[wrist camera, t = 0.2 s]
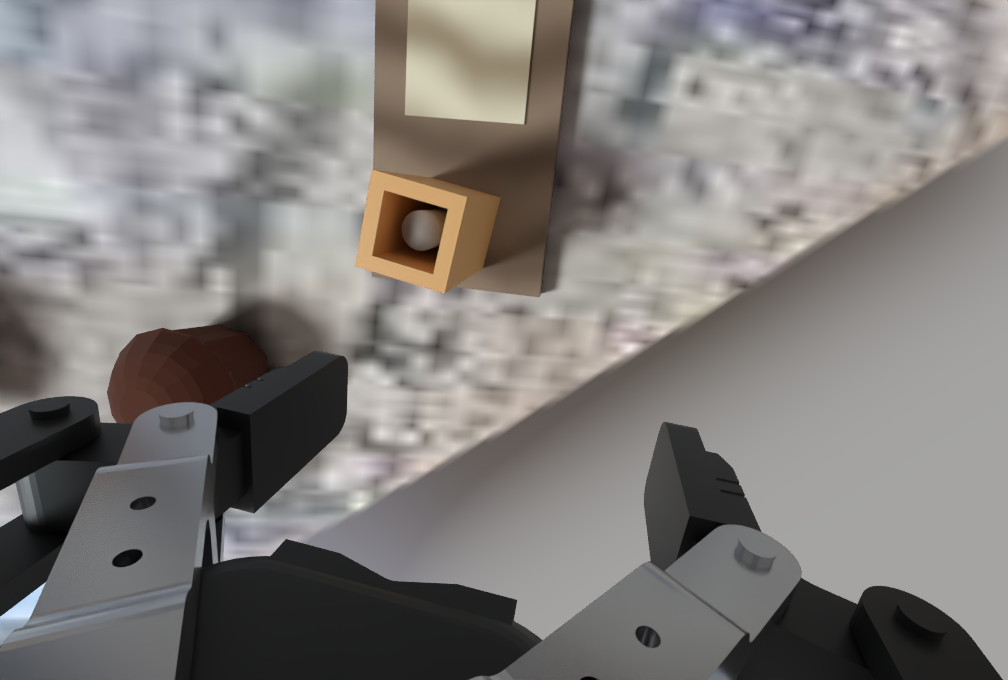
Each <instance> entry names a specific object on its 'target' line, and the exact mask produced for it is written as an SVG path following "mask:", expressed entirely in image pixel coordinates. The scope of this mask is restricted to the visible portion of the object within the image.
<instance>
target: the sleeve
mask: <svg viewBox="0 0 1008 680" xmlns="http://www.w3.org/2000/svg"><path fill="white" fill-rule="evenodd" d="M500 199H501V197H497V196H494V195H490V194H487V193H483V192H480V191H476V190H473V189H469V188H466V187H462V186H459V185H456V184H452V183H449V182H445V181H442V180H438V179H435V178H431V177H423V176H416V175H409V174H401V173H394V172H387V171H379V170H372V172H371V178H370V184H369V189H368V195H367V201H366V207H365V212H364V218H363V224H362V230H361V235H360V241H359V247H358V253H357V258H356V264H355V266H356V267H359V268H363V269H366V270H369V271H372V272H376V273H379V274H382V275H385V276H389V277H392V278H395V279H398V280H402V281H405V282H408V283H411V284H415V285H418V286H421V287H424V288H428V289H431V290H434V291H438V292H441V293H446V292H447V291H449V290H451V289H452V288H454V287H455V286H457V285H458V284H460V283H461V282H463V281H464V280H466V279H467V278H469V277H470V276H472V275H473V274H475V273H476V272H478V271H479V270H481V269H482V268H483V265H484V261H485V258H486V254H487V250H488V246H489V242H490V238H491V234H492V230H493V226H494V223H495V219H496V215H497V211H498V207H499V203H500ZM437 206H440V207H443V208H447V209H448V211H447V215H446V220H445V224H444V228H443V233H442V237H441V242H440V246H438V247H435V248H431V249H428V250H424V251H419V250H415V249H413V248H411V247H410V246H409V245H408V244H407V243H406V242H405V240H404V238H403V236H402V223H403V221H404V219H405V217H406V216H407V215H408V214H409V213H411V212H413V211H418V210H432V209H437Z"/></svg>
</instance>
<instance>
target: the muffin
mask: <svg viewBox="0 0 1008 680" xmlns="http://www.w3.org/2000/svg"><path fill="white" fill-rule="evenodd" d="M266 373H268V367H267V357H266V355H265V354H264V353H263V352H262V351H261V350H260V349H259V348H258V347H257V346H256V345H255V344H254V342H253V341H252V340H251V339H250V337H249V336H248V335H247V333H245V332H240V331H235V330H232V329H229V328H227V327H224V326H222V325H212V326H204V327H196V328H187V329H179V330H169V329H165V328H161V329H157V330H153V331H149V332H145V333H141V334H137V335H136V336H135V337H134V338H133V339H132V340H131V341H130V342H129V344H128V345H127V346H126V347H125V348H124V349H123V350H122V351H121V352H120V354H119V357H118V359H117V361H116V363H115V365H114V368H113V371H112V374H111V378H110V383H109V387H108V391H107V394H108V399H109V403H110V408H111V413H112V416H113V418H114V419H115V421H116V422H117V423H123V424H133V423H134V421H135V419H136V418H137V417H138V416H140V415H141V414H142V413H144V412H146V411H148V410H150V409H153V408H156V407H159V406H163V405H167V404H173V403H181V402H195V403H202V404H207V405H210V404H212V403H214V402H216V401H218V400H219V399H221V398H223V397H225V396H227V395H228V394H230V393H232V392H234V391H236V390H237V389H239V388H241V387H245V385H246V384H248V383H250V382H252V381H253V380H257V378H259V377H261V376H262V375H264V374H266Z"/></svg>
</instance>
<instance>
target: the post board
mask: <svg viewBox="0 0 1008 680" xmlns="http://www.w3.org/2000/svg"><path fill="white" fill-rule="evenodd" d="M574 2H575V0H376V14H375V88H374V162H373V170H379V171H387V172H394V173H401V174H409V175H416V176H423V177H431V178H435V179H438V180H442V181H445V182H449V183H452V184H456V185H459V186H462V187H466V188H469V189H473V190H476V191H480V192H483V193H487V194H490V195H494V196H497V197H501V199H500V203H499V207H498V211H497V215H496V219H495V223H494V226H493V230H492V234H491V238H490V242H489V246H488V250H487V254H486V258H485V261H484V265H483V268H482V269H481V270H479V271H478V272H476V273H475V274H473V275H472V276H470V277H469V278H467V279H466V280H464V281H463V282H461V283H460V284H458V285H457V286H455V287H461V288H469V289H477V290H485V291H493V292H501V293H509V294H517V295H526V296H534V297H540V295H541V289H542V280H543V272H544V263H545V254H546V246H547V237H548V228H549V220H550V211H551V202H552V193H553V185H554V176H555V167H556V159H557V150H558V141H559V133H560V124H561V115H562V107H563V98H564V89H565V81H566V72H567V63H568V55H569V46H570V37H571V28H572V20H573V11H574ZM447 211H448V209H447V208H443V207H440V206H437V209H432V210H418V211H413V212H411V213H409V214H408V215H407V216H406V217H405V219H404V221H403V223H402V236H403V238H404V240H405V242H406V243H407V244H408V245H409V246H410V247H411V248H413V249H415V250H419V251H424V250H428V249H431V248H435V247H438V246H440V242H441V237H442V233H443V228H444V224H445V220H446V215H447ZM372 277H379V278H387V279H395V278H392V277H389V276H385V275H382V274H379V273H376V272H372ZM396 280H398V279H396Z"/></svg>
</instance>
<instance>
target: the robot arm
mask: <svg viewBox="0 0 1008 680" xmlns="http://www.w3.org/2000/svg"><path fill="white" fill-rule="evenodd" d="M347 385H348V363H347V360H346V358H345V357H344V356H339V355H334V354H329V353H324V352H319V351H314V352H312V353H310V354H309V355H307V356H305V357H303V358H302V359H300V360H298V361H296V362H295V363H293V364H291V365H289V366H285V367H282V368H278V369H274V370H271V371H270V372H268V373H266V374H264V375H262V376H261V377H259V378H257V380H253V381H252V382H250V383H248V384H246V385H245V387H241V388H239V389H237V390H236V391H234V392H232V393H230V394H228V395H227V396H225V397H223V398H221V399H219V400H218V401H216V402H214V403H212V404H210V405H207V404H202V403H195V402H181V403H173V404H167V405H163V406H159V407H156V408H153V409H150V410H148V411H146V412H144V413H142V414H141V415H140V416H138V417H137V418H136V419H135V421H134V423H133V424H123V423H100V417H99V411H98V405H97V403H96V402H95V401H94V400H91V399H89V398H85V397H75V396H65V397H54V398H47V399H41V400H37V401H33V402H29V403H26V404H23V405H20V406H18V407H15V408H13V409H10V410H8V411H5V412H3V413H0V490H2V489H4V488H6V487H8V486H10V485H12V484H13V483H16V487H17V491H18V496H19V500H20V504H21V509H22V513H23V514H22V515H20V516H18V517H17V518H15V519H13V520H12V521H10V522H8V523H7V524H5V525H3V526H2V527H0V616H2V615H3V614H4V613H6V612H7V611H8V610H9V609H11V608H12V607H13V606H15V605H16V604H17V603H19V602H20V601H21V600H23V599H24V598H25V597H27V596H28V595H29V594H30V593H32V592H33V591H34V590H36V589H37V588H38V587H40V586H41V585H42V584H44V583H45V582H46V581H47V582H46V584H45V586H44V588H43V590H42V593H41V595H40V597H39V599H38V602H37V604H36V606H35V608H34V611H33V613H32V615H31V617H30V619H29V621H28V622H27V624H26V625H25V626H24V627H22V628H19V629H16V630H14V631H13V632H11V633H10V634H9V636H8V637H7V638H6V639H5V641H4V642H3V644H2V645H1V646H0V680H1003V679H1002V678H1001V677H1000V675H999V674H998V673H997V671H996V670H995V669H994V667H993V666H992V665H991V663H990V662H989V661H988V659H987V658H986V657H985V655H984V654H983V652H982V651H981V650H980V648H979V647H978V646H977V644H976V643H975V642H974V640H973V639H972V638H971V637H970V636H969V634H968V633H967V632H966V631H965V630H964V629H963V628H962V627H961V626H960V625H959V624H958V623H957V622H955V621H954V620H953V619H952V618H951V617H949V616H948V615H946V614H945V613H944V612H942V611H941V610H939V609H938V608H936V607H935V606H933V605H931V604H930V603H928V602H926V601H924V600H923V599H920V598H918V597H916V596H914V595H912V594H910V593H907V592H905V591H902V590H899V589H895V588H890V587H886V586H873V587H869V588H867V589H866V590H865V591H864V592H863V594H862V596H861V598H860V600H859V602H858V604H856V603H853V602H851V601H849V600H847V599H844V598H842V597H840V596H837V595H835V594H832V593H830V592H828V591H826V590H824V589H821V588H819V587H817V586H815V585H813V584H811V583H809V582H807V581H806V580H804V579H802V578H801V574H802V571H801V567H800V565H799V563H798V561H797V559H796V558H795V557H794V555H793V554H792V553H791V552H790V551H789V550H788V549H787V548H786V547H785V546H783V545H782V544H781V543H779V542H778V541H776V540H775V539H773V538H772V537H770V536H768V535H766V534H764V533H762V532H761V530H760V528H759V526H758V523H757V521H756V519H755V516H754V514H753V512H752V510H751V508H750V505H749V503H748V501H747V499H746V498H744V495H745V494H744V492H743V490H742V488H741V486H740V485H739V481H738V479H737V476H736V475H735V472H734V470H733V468H732V467H731V466H730V465H729V464H728V463H727V462H726V461H725V460H724V459H723V458H722V457H721V456H719V455H718V454H716V453H712V452H707V451H705V448H704V446H703V443H702V440H701V437H700V435H699V432H698V430H697V429H696V428H692V427H688V426H683V425H677V424H673V423H668V422H663V424H662V425H661V428H660V431H659V434H658V438H657V442H656V446H655V449H654V453H653V457H652V461H651V465H650V469H649V473H648V476H647V480H646V486H645V493H644V508H645V516H646V525H647V533H648V541H649V550H650V558H651V561H649V562H646V563H644V564H642V565H641V566H639V567H638V568H636V569H635V570H634V571H633V572H631V573H630V574H629V575H627V576H626V577H625V578H623V579H622V580H621V581H619V582H618V583H617V584H616V585H614V586H613V587H612V588H610V589H609V590H608V591H607V592H605V593H604V594H603V595H601V596H600V597H599V598H597V599H596V600H595V601H593V602H592V603H591V604H589V605H588V606H587V607H586V608H584V609H583V610H582V611H580V612H579V613H578V614H576V615H575V616H574V617H572V618H571V619H570V620H568V621H567V622H566V623H565V624H563V625H562V626H561V627H559V628H558V629H557V630H555V631H554V632H553V633H552V634H550V635H549V636H548V637H546V638H545V639H544V640H541V639H540V638H539V637H538V636H536V635H535V634H534V633H532V632H531V631H529V630H528V629H526V628H525V627H523V626H521V625H520V624H518V623H516V622H515V621H514V615H515V609H516V603H517V600H515V599H511V598H507V597H504V596H500V595H496V594H492V593H488V592H484V591H480V590H477V589H473V588H469V587H465V586H462V585H458V584H441V583H419V582H398V581H391V580H388V579H386V578H384V577H382V576H380V575H379V574H377V573H375V572H373V571H371V570H369V569H368V568H366V567H364V566H362V565H360V564H359V563H357V562H355V561H353V560H351V559H349V558H348V557H345V556H344V555H342V554H340V553H337V552H333V551H329V550H326V549H322V548H318V547H314V546H310V545H307V544H303V543H299V542H295V541H291V540H288V539H286V540H285V541H284V542H283V543H282V544H281V545H280V546H279V547H278V549H277V550H276V551H275V552H274V553H273V554H272V555H271V556H257V557H245V558H238V559H232V560H227V561H223V552H224V534H225V518H224V512H225V511H226V510H228V509H229V508H230V507H231V508H235V509H239V510H243V511H247V512H251V513H255V512H256V511H257V510H258V509H259V508H260V507H261V506H263V505H264V504H265V503H266V502H267V501H268V500H269V499H270V498H271V497H272V496H273V495H274V494H275V493H276V492H277V491H279V490H280V489H281V488H282V487H283V486H284V485H285V484H286V483H287V482H288V481H289V480H290V479H291V478H292V477H293V476H295V475H296V474H297V473H298V472H299V471H300V470H301V469H302V468H303V467H304V466H305V465H306V464H307V463H308V462H310V461H311V460H312V459H313V458H314V457H315V456H316V455H317V454H318V453H319V452H320V451H321V450H322V449H323V448H324V447H326V446H327V445H328V444H329V443H330V442H331V441H332V440H333V439H334V438H335V437H336V436H337V435H338V434H339V433H340V431H341V429H342V427H343V425H344V422H345V419H346V414H347Z"/></svg>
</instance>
